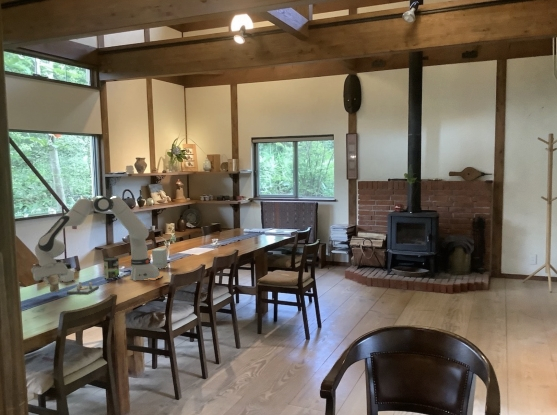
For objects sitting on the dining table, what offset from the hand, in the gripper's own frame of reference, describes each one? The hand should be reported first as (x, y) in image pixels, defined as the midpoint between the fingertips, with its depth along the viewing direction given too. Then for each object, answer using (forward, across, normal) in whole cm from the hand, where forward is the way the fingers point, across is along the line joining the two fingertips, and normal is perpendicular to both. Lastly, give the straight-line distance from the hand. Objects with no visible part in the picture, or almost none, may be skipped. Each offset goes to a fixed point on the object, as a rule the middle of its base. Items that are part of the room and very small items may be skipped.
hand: (54, 282), depth 292 cm
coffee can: (-6, +45, +18) cm, 49 cm away
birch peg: (+3, 0, +4) cm, 5 cm away
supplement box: (-6, +85, +19) cm, 87 cm away
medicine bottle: (-18, +20, +30) cm, 40 cm away
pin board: (+8, +16, +4) cm, 19 cm away
